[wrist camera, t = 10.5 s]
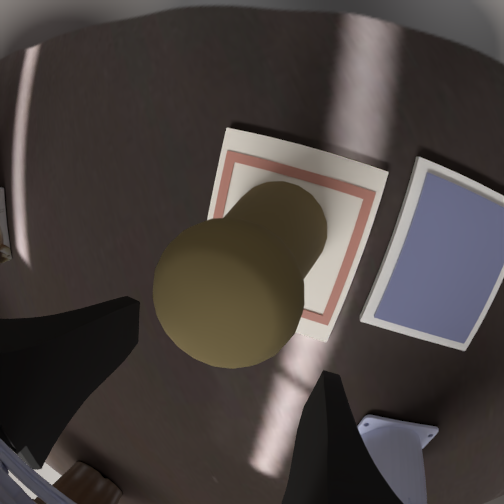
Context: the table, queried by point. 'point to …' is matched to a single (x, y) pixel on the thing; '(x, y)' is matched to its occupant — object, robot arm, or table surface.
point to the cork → (241, 276)
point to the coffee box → (4, 231)
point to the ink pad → (440, 259)
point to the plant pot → (86, 486)
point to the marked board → (326, 194)
